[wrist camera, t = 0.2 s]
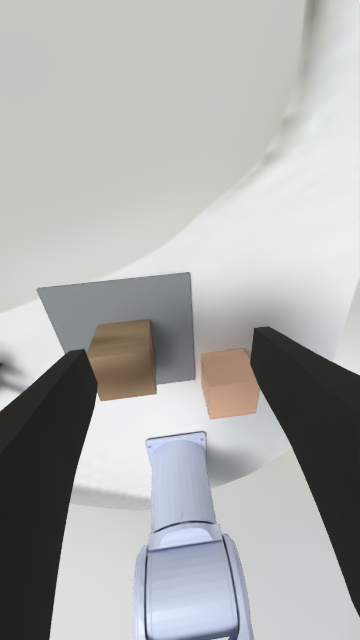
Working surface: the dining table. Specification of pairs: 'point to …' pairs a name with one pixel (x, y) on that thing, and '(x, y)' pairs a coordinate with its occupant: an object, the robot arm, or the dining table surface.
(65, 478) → the robot arm
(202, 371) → the terracotta block
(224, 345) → the dining table surface
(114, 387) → the walnut block
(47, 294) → the mat
